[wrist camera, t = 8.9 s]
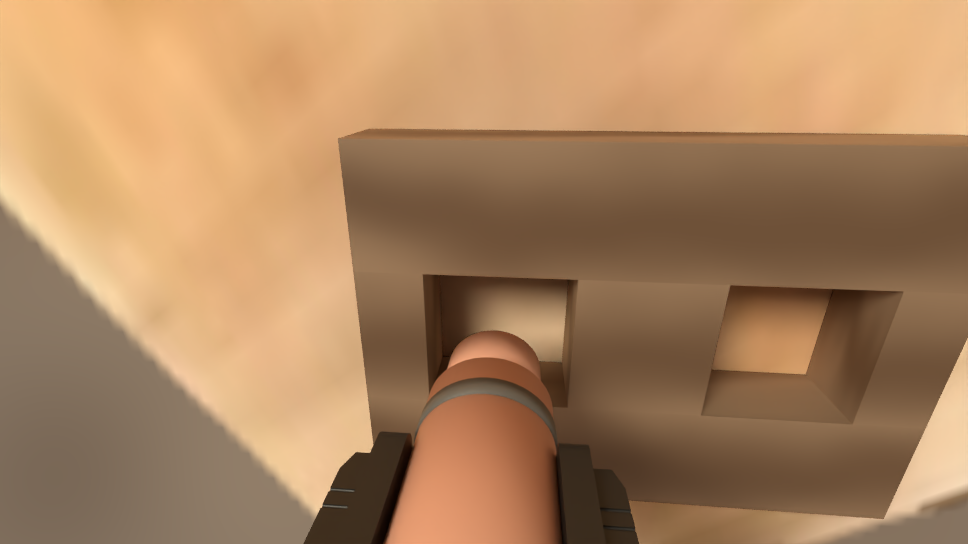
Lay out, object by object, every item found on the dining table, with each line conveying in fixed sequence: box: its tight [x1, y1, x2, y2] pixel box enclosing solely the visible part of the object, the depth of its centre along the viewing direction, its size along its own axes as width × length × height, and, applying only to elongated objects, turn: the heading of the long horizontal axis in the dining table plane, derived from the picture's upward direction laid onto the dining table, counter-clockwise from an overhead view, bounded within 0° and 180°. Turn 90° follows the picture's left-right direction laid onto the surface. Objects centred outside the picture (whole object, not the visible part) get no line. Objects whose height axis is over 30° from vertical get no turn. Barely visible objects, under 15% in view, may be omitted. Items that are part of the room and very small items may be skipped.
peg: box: [383, 331, 563, 544], centre depth 10 cm, size 4×4×12 cm
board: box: [338, 129, 968, 519], centre depth 17 cm, size 14×20×3 cm
